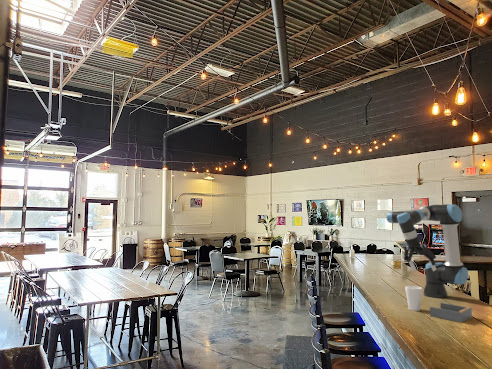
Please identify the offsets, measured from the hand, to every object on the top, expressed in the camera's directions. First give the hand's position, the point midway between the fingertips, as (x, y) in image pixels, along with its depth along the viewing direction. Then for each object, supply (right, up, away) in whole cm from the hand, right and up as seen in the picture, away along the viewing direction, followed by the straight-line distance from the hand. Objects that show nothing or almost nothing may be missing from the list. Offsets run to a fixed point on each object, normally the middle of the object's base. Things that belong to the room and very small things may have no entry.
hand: (424, 270), depth 219 cm
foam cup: (-7, -23, -1) cm, 24 cm away
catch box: (+7, -22, -16) cm, 28 cm away
